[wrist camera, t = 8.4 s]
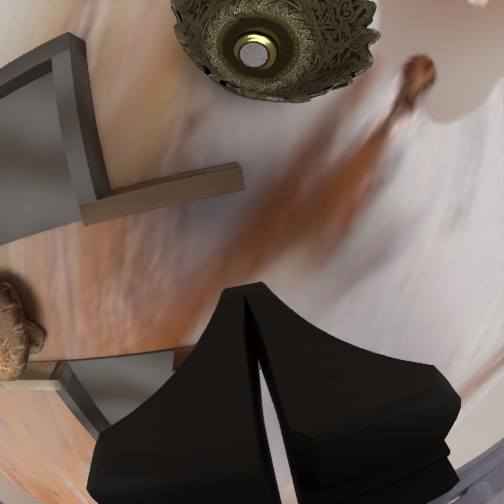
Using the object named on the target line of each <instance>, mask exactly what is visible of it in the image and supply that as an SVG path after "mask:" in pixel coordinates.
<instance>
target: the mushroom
mask: <svg viewBox="0 0 504 504" xmlns="http://www.w3.org/2000/svg"><path fill="white" fill-rule="evenodd" d="M44 341H45V339H44V333H43V331H42V330H41V328H40V327H39V326H37V325H36V324H35V323H32V322H30V321H27V320H26V319H25V315H24V310H23V308H22V305H21V303H20V300H19V297H18V295H17V293H16V292H15V290H14V289H13V287H12V286H11V284H9V283H8V282H6V281H2V280H0V381H16V380H17V379H18V378H19V377H20V376H21V375H22V373H23V372H24V371H25V370H26V368H27V363H28V357H29V354H36V353H38V352H40V351H41V350H42V348H43V346H44Z"/></svg>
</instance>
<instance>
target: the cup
mask: <svg viewBox="0 0 504 504" xmlns="http://www.w3.org/2000/svg"><path fill="white" fill-rule="evenodd" d="M376 7H377V6H376V4H375V3H374V2H373V1H369V0H171V8H172V10H173V12H174V14H175V16H176V19H177V22H178V23H176V24H175V25H174V30H175V34H176V37H177V39H178V41H179V43H180V44H181V45H182V46H183V49H184V50H185V52H186V53H187V55H188V56H189V57H190V58H191V60H192V61H193V62H194V63H195V64H196V65H197V66H198V67H199V68H200V69H201V70H202V71H203V72H204V73H205V74H206V75H207V76H208V77H209V78H210V79H212V80H213V81H214V82H215V83H217V84H218V85H219V86H221V87H223V88H224V89H226V90H228V91H230V92H232V93H234V94H236V95H239V96H242V97H245V98H250V99H254V100H262V101H273V102H289V103H303V102H308V101H311V100H310V98H314V97H317V96H321V95H325V94H327V93H328V92H329V91H331V90H334V89H339V88H342V87H346V86H348V85H350V84H352V83H353V79H352V78H354V77H355V76H357V75H359V74H361V73H363V72H365V71H367V70H368V69H369V68H370V67H371V66H372V64H373V61H374V60H373V56H372V54H371V52H370V51H369V46H370V45H372V44H374V43H375V42H376V41H377V40H378V39H379V38H380V37H381V34H380V33H379V32H378V31H376V30H375V29H374V28H373V29H368V28H367V26H369V25H370V24H371V23H372V21H373V18H372V17H373V15H374V13H375V11H376ZM250 42H257V43H260V44H262V45H263V46H264V47H265V48H266V49H267V51H268V59H267V61H266V62H265V63H264V64H263V65H261V66H259V67H250V66H247V65H246V64H244V63H243V62H242V60H241V58H240V50H241V48H242V47H243V46H244V45H245V44H247V43H250Z"/></svg>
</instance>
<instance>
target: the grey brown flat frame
mask: <svg viewBox="0 0 504 504" xmlns="http://www.w3.org/2000/svg"><path fill="white" fill-rule="evenodd" d="M242 190H245V189H244V183H243V177H242V171H241V167H240V165H239V164H238V163H237V162H236V163H231V164H225V165H220V166H215V167H210V168H205V169H200V170H196V171H191V172H186V173H182V174H177V175H173V176H169V177H164V178H160V179H156V180H152V181H148V182H144V183H140V184H136V185H132V186H128V187H125V188H121V189H117V190H114V191H111V189H110V186H109V181H108V177H107V173H106V169H105V165H104V160H103V156H102V151H101V146H100V141H99V136H98V131H97V126H96V120H95V115H94V109H93V103H92V96H91V90H90V83H89V75H88V67H87V58H86V48H85V41H83V40H82V39H80V38H78V37H77V36H75V35H73V34H72V33H70V32H67V33H65V34H62V35H60V36H58V37H56V38H54V39H52V40H50V41H48V42H46V43H44V44H42V45H40V46H38V47H36V48H34V49H33V50H31V51H29V52H27V53H25V54H24V55H22V56H20V57H18V58H17V59H15V60H13V61H12V62H10V63H9V64H7V65H5V66H4V67H2V68H1V69H0V245H3V244H6V243H9V242H12V241H15V240H18V239H21V238H24V237H27V236H30V235H33V234H36V233H39V232H42V231H45V230H49V229H52V228H55V227H59V226H62V225H65V224H69V223H72V222H75V221H79V220H83V223H84V227H85V226H88V225H92V224H96V223H100V222H103V221H107V220H111V219H115V218H119V217H123V216H127V215H131V214H135V213H139V212H143V211H148V210H152V209H156V208H160V207H165V206H169V205H174V204H178V203H183V202H188V201H192V200H197V199H202V198H207V197H212V196H217V195H222V194H227V193H232V192H237V191H242ZM194 347H195V346H189V347H182V348H176V349H169V350H162V351H154V352H147V353H139V354H130V355H121V356H112V357H102V358H91V359H78V360H64V361H47V362H28V363H27V368H26V370H25V371H24V372H23V373H22V375H21V376H20V377H19V378H18V379H17V380H16V381H0V388H6V389H25V390H55V391H56V392H57V393H58V395H59V396H60V397H61V399H62V400H63V401H64V403H65V404H66V405H67V407H68V408H69V409H70V411H71V412H72V413H73V414H74V416H75V417H76V418H77V419H78V420H79V422H80V423H81V424H82V425H83V426H84V428H85V429H86V430H87V431H88V432H89V433H90V435H91V436H92V437H93V438H94V439H95V440H96V441H97V439H98V436H99V433H101V432H102V431H104V430H106V429H107V428H109V427H110V426H112V425H113V424H115V423H116V422H118V421H119V420H121V419H122V418H124V417H125V416H127V415H128V414H129V413H131V412H132V411H133V410H135V409H136V408H137V407H139V406H140V405H141V404H142V403H143V402H145V401H146V400H147V399H148V398H149V397H151V396H152V395H153V394H154V393H155V392H156V391H157V390H158V389H159V388H160V387H161V386H162V385H163V384H164V383H165V382H166V381H167V380H168V379H169V378H170V377H171V376H172V375H173V374H174V373H175V372H176V371H177V369H178V368H179V367H180V366H181V365H182V363H183V362H184V361H185V360H186V358H187V357H188V356H189V354H190V353H191V351H192V350H193V348H194ZM258 364H259V370H260V369H261V366H260V363H259V360H258Z"/></svg>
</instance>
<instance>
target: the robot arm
mask: <svg viewBox="0 0 504 504" xmlns="http://www.w3.org/2000/svg"><path fill="white" fill-rule="evenodd" d="M258 360H259V363H260V366H261V369H262V372H263V375H264V378H265V381H266V384H267V387H268V390H269V393H270V396H271V399H272V402H273V405H274V408H275V410H276V414H277V417H278V421H279V425H280V429H281V433H282V437H283V442H284V446H285V450H286V455H287V459H288V463H289V467H290V472H291V476H292V480H293V484H294V489H295V493H296V497H297V501H298V504H504V438H503V439H501V440H500V441H499V442H497V443H496V444H494V445H493V446H492V447H491V448H489V449H487V450H486V451H485V452H483V453H482V454H480V455H479V456H477V457H476V458H474V459H473V460H471V461H470V462H468V463H467V464H465V465H463V466H462V467H460V468H458V469H457V470H454V469H453V467H452V465H451V463H450V462H449V460H448V458H447V456H449V455H450V449H449V447H448V446H447V444H446V443H445V441H444V440H445V438H446V436H447V435H448V433H449V431H450V429H451V428H452V426H453V424H454V422H455V421H456V419H457V416H458V414H459V411H460V408H461V398H460V397H459V395H458V394H457V393H456V391H455V390H454V389H453V387H452V386H451V384H450V383H449V382H448V380H447V379H446V378H445V377H444V376H443V375H442V374H441V372H440V371H439V370H438V369H437V368H436V367H435V366H434V365H428V364H422V363H417V362H411V361H405V360H400V359H395V358H391V357H388V356H384V355H381V354H377V353H374V352H371V351H368V350H365V349H362V348H359V347H357V346H354V345H352V344H349V343H347V342H344V341H342V340H340V339H338V338H336V337H333V336H331V335H330V334H328V333H326V332H324V331H322V330H320V329H319V328H317V327H315V326H314V325H312V324H311V323H309V322H308V321H306V320H305V319H304V318H302V317H301V316H299V315H298V314H297V313H295V312H294V311H293V310H292V309H291V308H289V307H288V306H287V305H286V304H285V303H283V302H282V301H281V300H280V299H279V298H278V297H277V296H276V295H275V294H274V293H273V292H272V291H271V290H270V289H269V288H268V287H267V286H266V284H264V283H263V282H257V283H252V284H247V285H242V286H237V287H232V288H226V289H224V290H223V292H222V293H221V296H220V299H219V302H218V304H217V307H216V309H215V311H214V313H213V315H212V317H211V319H210V321H209V323H208V325H207V327H206V329H205V331H204V332H203V334H202V336H201V337H200V339H199V341H198V342H197V344H196V345H195V347H194V348H193V350H192V351H191V353H190V354H189V356H188V357H187V358H186V360H185V361H184V362H183V363H182V365H181V366H180V367H179V368H178V369H177V371H176V372H175V373H174V374H173V375H172V376H171V377H170V378H169V379H168V380H167V381H166V382H165V383H164V384H163V385H162V386H161V387H160V388H159V389H158V390H157V391H156V392H155V393H154V394H153V395H152V396H151V397H149V398H148V399H147V400H146V401H145V402H143V403H142V404H141V405H140V406H139V407H137V408H136V409H135V410H133V411H132V412H131V413H129V414H128V415H127V416H125V417H124V418H122V419H121V420H119V421H118V422H116V423H115V424H113V425H112V426H110V427H109V428H107V429H106V430H104V431H102V432H101V433H99V436H98V439H97V442H96V445H95V448H94V452H93V457H92V462H91V467H90V472H89V477H88V482H87V487H86V489H87V491H88V493H89V494H90V496H91V497H92V498H93V499H94V500H95V501H96V502H97V503H98V504H282V503H281V499H280V494H279V490H278V485H277V481H276V476H275V472H274V467H273V462H272V458H271V453H270V448H269V443H268V438H267V434H266V429H265V423H264V416H263V407H262V396H261V385H260V374H259V364H258ZM460 495H461V496H460ZM459 496H460V497H459ZM457 497H459V499H457V500H456V501H454V502H453V503H451V501H452V500H454V499H456V498H457ZM0 504H3V503H2V502H1V501H0Z"/></svg>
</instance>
